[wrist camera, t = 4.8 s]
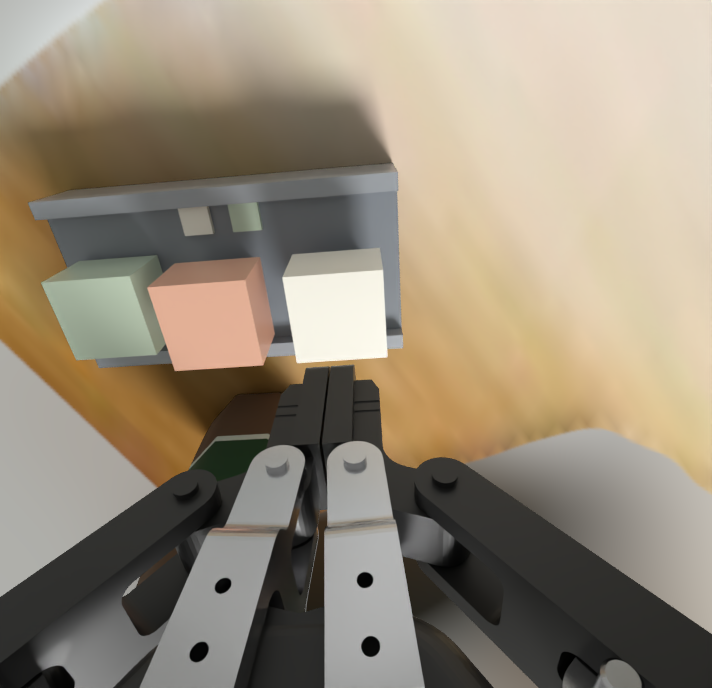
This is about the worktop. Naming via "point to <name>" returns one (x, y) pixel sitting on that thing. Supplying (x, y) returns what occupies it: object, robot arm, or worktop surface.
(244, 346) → the key terracotta
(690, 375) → the worktop surface
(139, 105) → the worktop surface
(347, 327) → the key ivory
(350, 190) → the grey tray
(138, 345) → the key sage
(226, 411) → the beer bottle
